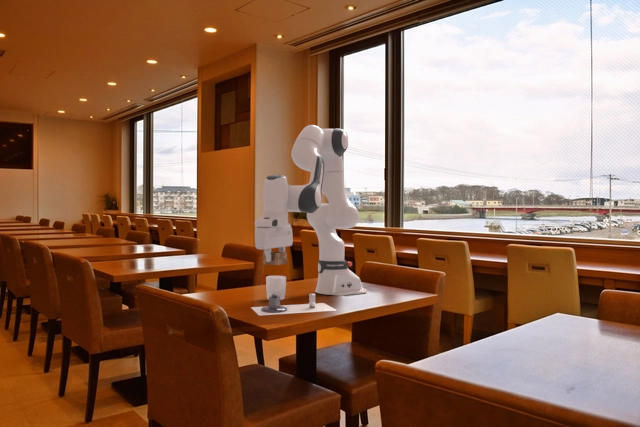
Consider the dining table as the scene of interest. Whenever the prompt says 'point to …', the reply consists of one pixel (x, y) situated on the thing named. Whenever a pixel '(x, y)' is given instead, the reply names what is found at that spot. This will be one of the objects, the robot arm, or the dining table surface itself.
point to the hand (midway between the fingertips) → (274, 260)
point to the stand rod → (311, 300)
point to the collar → (276, 258)
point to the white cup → (276, 286)
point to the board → (297, 309)
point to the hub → (274, 305)
